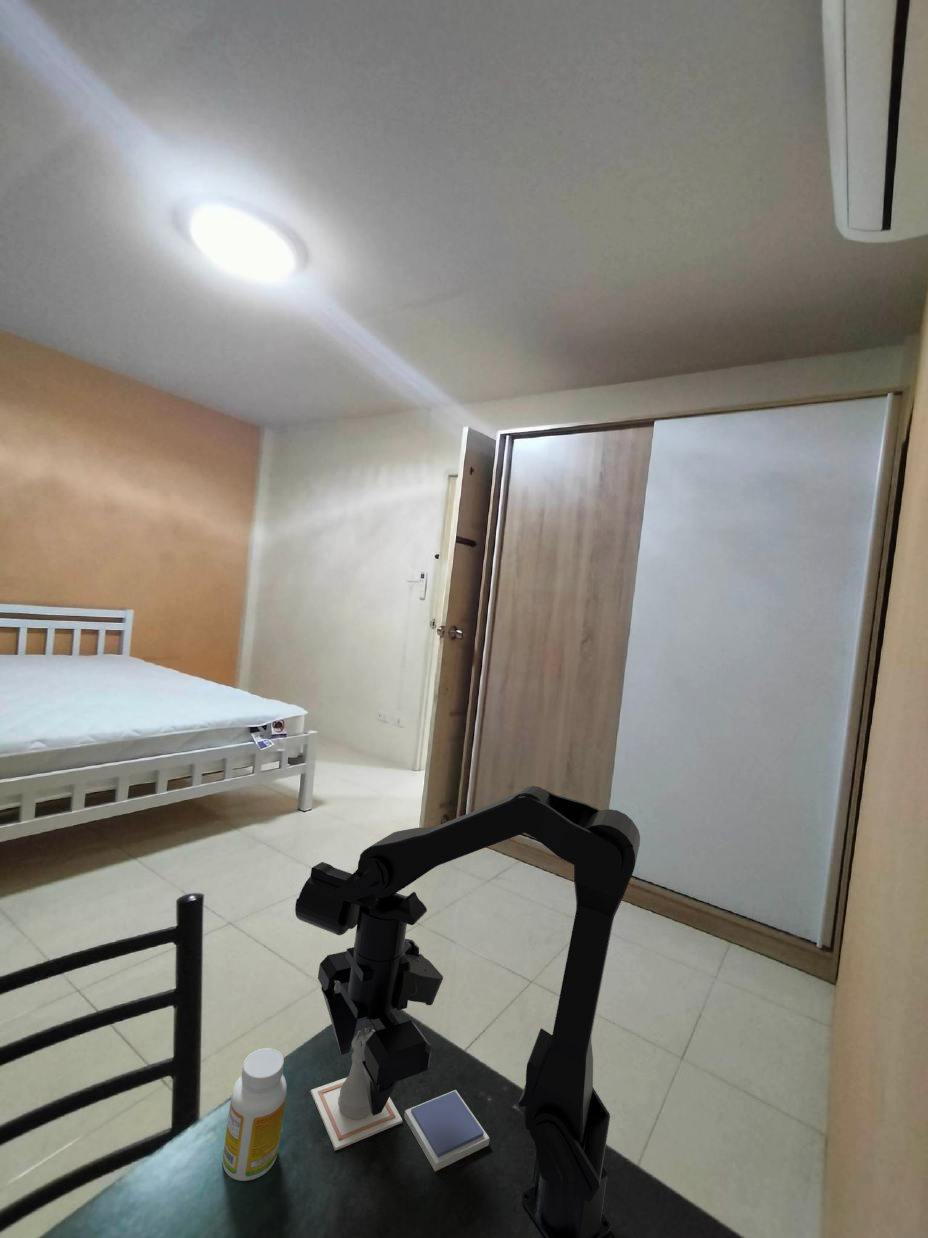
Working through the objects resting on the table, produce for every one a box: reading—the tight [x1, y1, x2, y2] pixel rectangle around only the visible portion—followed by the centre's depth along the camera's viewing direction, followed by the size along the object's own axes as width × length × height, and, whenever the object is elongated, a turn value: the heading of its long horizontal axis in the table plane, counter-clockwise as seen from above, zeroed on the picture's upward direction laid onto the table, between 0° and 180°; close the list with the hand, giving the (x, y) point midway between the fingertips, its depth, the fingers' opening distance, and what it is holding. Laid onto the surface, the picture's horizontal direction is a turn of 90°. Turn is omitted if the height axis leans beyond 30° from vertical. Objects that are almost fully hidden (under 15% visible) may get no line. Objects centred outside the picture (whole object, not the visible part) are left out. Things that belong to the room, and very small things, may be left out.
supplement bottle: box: [222, 1047, 288, 1182], centre depth 57 cm, size 5×5×10 cm
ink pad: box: [403, 1089, 490, 1172], centre depth 63 cm, size 7×7×1 cm
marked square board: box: [310, 1077, 403, 1152], centre depth 65 cm, size 8×8×1 cm
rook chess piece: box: [338, 1027, 375, 1119], centre depth 65 cm, size 4×4×8 cm
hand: (359, 1081), depth 65 cm, fingers open, 9 cm apart
